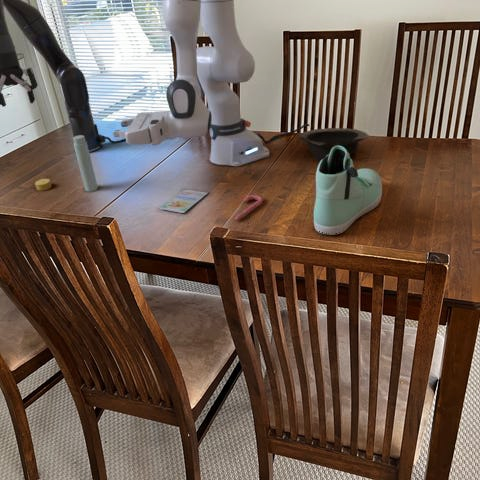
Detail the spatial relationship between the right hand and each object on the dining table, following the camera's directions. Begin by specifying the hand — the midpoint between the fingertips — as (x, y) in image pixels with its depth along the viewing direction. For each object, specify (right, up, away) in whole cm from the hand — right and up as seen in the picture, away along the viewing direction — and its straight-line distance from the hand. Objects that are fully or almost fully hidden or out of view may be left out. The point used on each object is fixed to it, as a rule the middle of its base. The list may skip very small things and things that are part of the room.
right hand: (117, 128), depth 152 cm
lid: (-30, -15, +14) cm, 36 cm away
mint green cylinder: (-12, -18, +11) cm, 24 cm away
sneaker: (+70, -26, -13) cm, 76 cm away
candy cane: (+41, -26, -10) cm, 50 cm away
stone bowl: (+73, -4, +23) cm, 76 cm away
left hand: (-32, +8, 0) cm, 33 cm away
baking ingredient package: (+21, -23, -2) cm, 32 cm away
